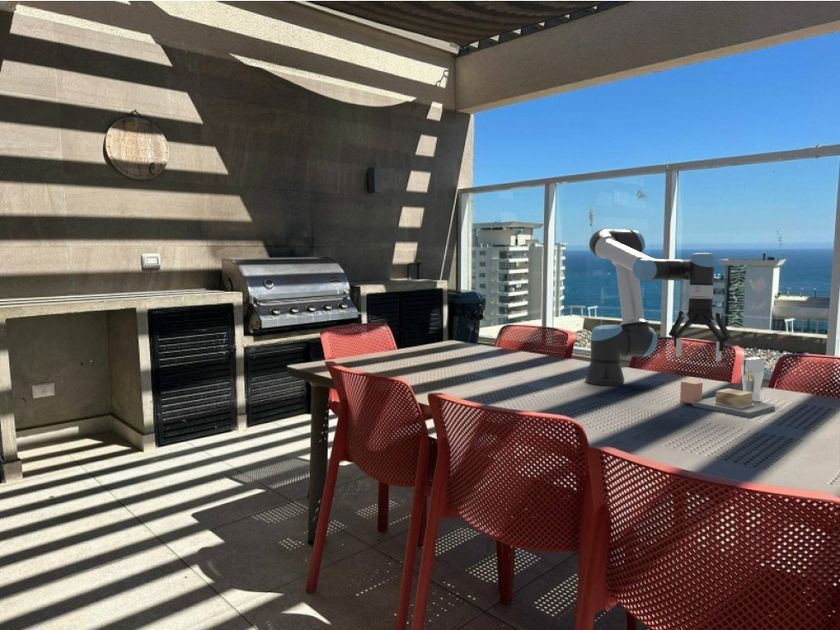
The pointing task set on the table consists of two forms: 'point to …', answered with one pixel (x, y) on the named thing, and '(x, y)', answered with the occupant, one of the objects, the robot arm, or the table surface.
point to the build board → (740, 411)
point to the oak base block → (734, 397)
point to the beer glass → (752, 376)
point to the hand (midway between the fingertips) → (697, 358)
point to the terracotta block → (691, 391)
